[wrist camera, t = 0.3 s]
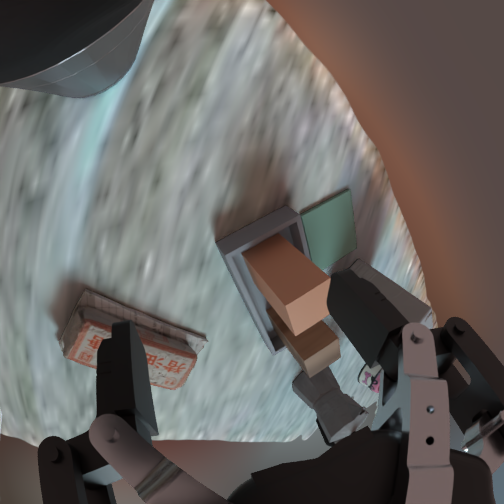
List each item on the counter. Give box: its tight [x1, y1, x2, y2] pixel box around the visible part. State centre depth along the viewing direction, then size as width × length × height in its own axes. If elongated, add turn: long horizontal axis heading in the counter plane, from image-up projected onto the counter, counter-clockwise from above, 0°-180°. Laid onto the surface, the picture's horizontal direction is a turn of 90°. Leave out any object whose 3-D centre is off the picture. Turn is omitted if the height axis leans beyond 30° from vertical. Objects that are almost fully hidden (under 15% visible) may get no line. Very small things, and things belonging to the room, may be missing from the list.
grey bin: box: [216, 206, 323, 356], centre depth 37 cm, size 20×9×3 cm, turn 18°
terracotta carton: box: [241, 233, 331, 336], centre depth 31 cm, size 5×5×10 cm
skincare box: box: [349, 259, 433, 329], centre depth 39 cm, size 8×7×16 cm
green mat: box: [300, 189, 357, 270], centre depth 38 cm, size 10×8×1 cm
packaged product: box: [59, 289, 208, 390], centre depth 31 cm, size 18×5×10 cm
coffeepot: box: [292, 366, 368, 447], centre depth 50 cm, size 15×9×18 cm, turn 166°
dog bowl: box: [358, 364, 382, 393], centre depth 69 cm, size 18×19×7 cm
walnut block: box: [266, 307, 341, 378], centre depth 37 cm, size 5×5×10 cm
